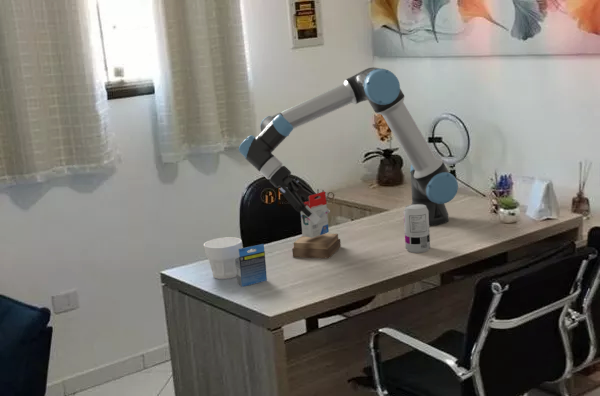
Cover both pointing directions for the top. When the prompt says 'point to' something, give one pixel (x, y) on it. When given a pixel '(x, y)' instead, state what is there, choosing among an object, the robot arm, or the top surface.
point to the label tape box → (251, 266)
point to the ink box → (321, 210)
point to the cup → (223, 256)
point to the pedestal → (316, 246)
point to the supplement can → (416, 228)
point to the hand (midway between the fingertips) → (323, 217)
